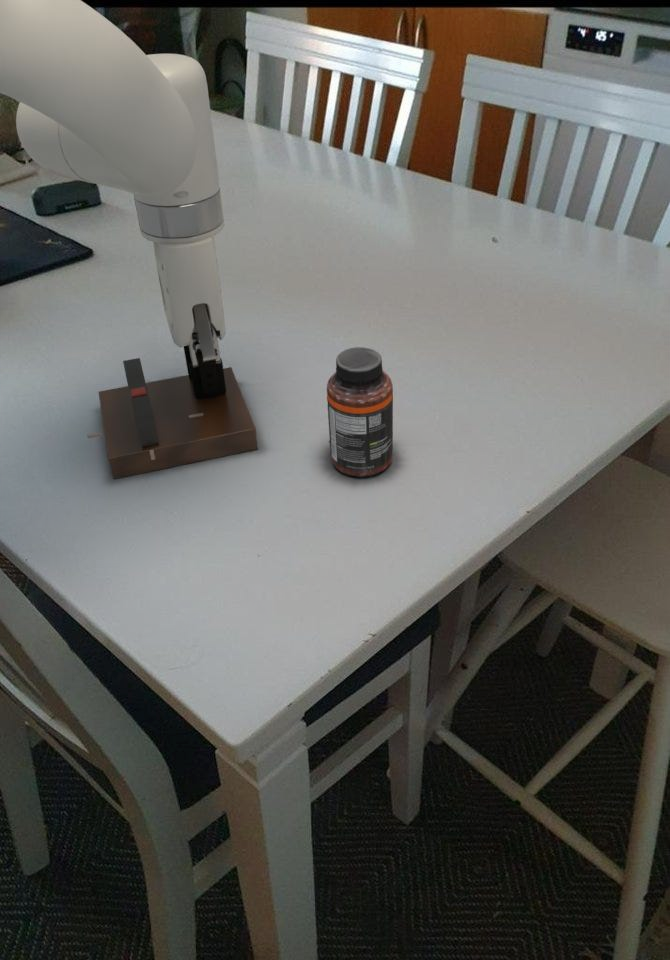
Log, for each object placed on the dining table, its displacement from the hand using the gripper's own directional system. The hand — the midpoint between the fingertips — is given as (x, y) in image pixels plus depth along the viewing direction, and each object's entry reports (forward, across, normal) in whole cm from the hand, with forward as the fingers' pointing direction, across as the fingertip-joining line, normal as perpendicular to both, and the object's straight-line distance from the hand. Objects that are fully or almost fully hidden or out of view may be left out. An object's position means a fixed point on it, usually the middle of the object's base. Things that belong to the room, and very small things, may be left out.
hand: (207, 385), depth 84 cm
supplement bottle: (+3, +14, +12) cm, 19 cm away
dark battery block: (0, +5, -7) cm, 8 cm away
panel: (+3, +4, -5) cm, 7 cm away
